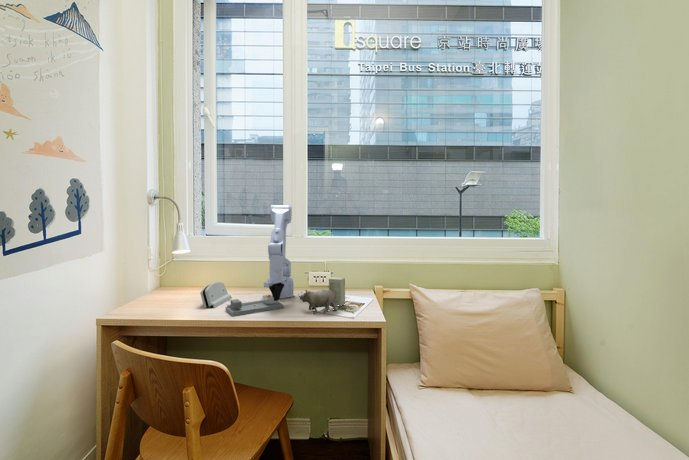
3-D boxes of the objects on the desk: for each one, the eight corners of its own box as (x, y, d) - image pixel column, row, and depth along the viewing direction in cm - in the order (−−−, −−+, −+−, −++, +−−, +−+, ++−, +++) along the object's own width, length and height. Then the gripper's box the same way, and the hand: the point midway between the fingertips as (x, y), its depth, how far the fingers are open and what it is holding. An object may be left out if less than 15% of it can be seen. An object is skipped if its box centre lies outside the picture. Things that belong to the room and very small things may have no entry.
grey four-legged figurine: (341, 309, 151) (320, 278, 152) (313, 327, 152) (293, 297, 153) (343, 305, 158) (323, 276, 159) (317, 323, 159) (297, 294, 160)
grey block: (269, 301, 164) (269, 293, 164) (273, 303, 160) (273, 295, 159) (262, 302, 162) (262, 294, 162) (267, 304, 158) (267, 296, 158)
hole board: (274, 303, 168) (274, 292, 167) (283, 307, 160) (283, 297, 160) (225, 310, 155) (225, 299, 155) (232, 316, 148) (232, 304, 147)
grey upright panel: (214, 308, 158) (206, 286, 158) (205, 311, 159) (197, 289, 159) (232, 298, 175) (225, 278, 175) (223, 301, 176) (216, 281, 175)
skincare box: (345, 304, 166) (345, 277, 165) (341, 307, 162) (341, 279, 161) (332, 303, 169) (332, 276, 168) (328, 305, 165) (328, 278, 164)
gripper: (278, 266, 170) (278, 295, 171) (258, 271, 157) (258, 303, 158) (291, 267, 167) (291, 297, 168) (271, 273, 154) (271, 305, 155)
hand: (276, 300), depth 163 cm, fingers closed
